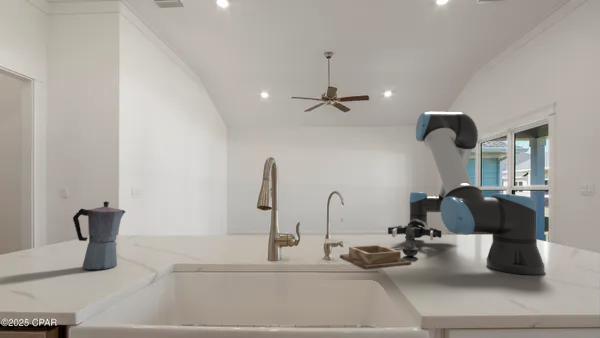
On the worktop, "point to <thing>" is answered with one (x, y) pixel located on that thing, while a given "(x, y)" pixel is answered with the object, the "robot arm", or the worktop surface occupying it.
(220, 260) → the worktop surface
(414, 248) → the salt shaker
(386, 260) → the holder
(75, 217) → the moka pot
